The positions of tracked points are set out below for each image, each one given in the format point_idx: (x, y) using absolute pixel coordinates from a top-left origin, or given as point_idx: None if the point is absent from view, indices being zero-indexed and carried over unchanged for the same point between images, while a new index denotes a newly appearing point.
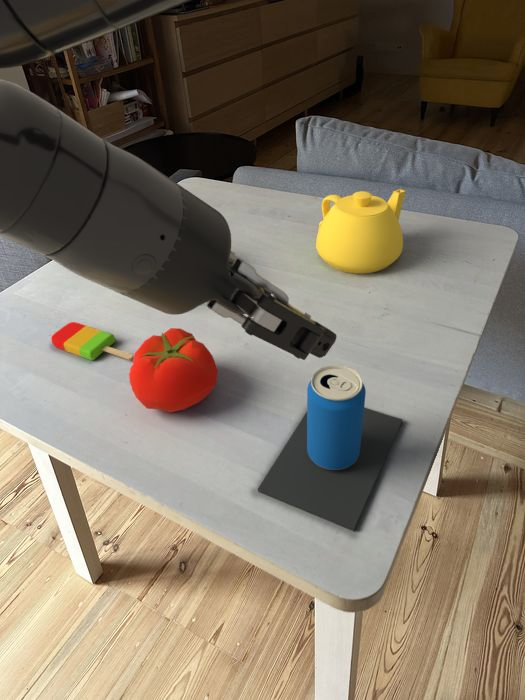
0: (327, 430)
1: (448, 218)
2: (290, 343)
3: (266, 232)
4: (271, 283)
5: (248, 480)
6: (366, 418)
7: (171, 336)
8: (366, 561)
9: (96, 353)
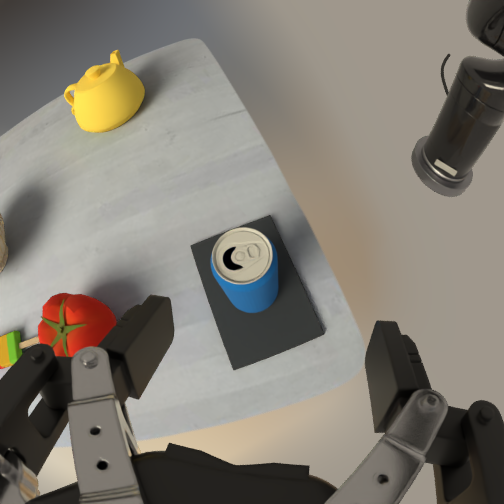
0: (261, 296)
1: (152, 51)
2: (454, 479)
3: (39, 147)
4: (353, 476)
5: (218, 367)
6: None
7: (50, 315)
8: (348, 346)
9: (20, 355)
